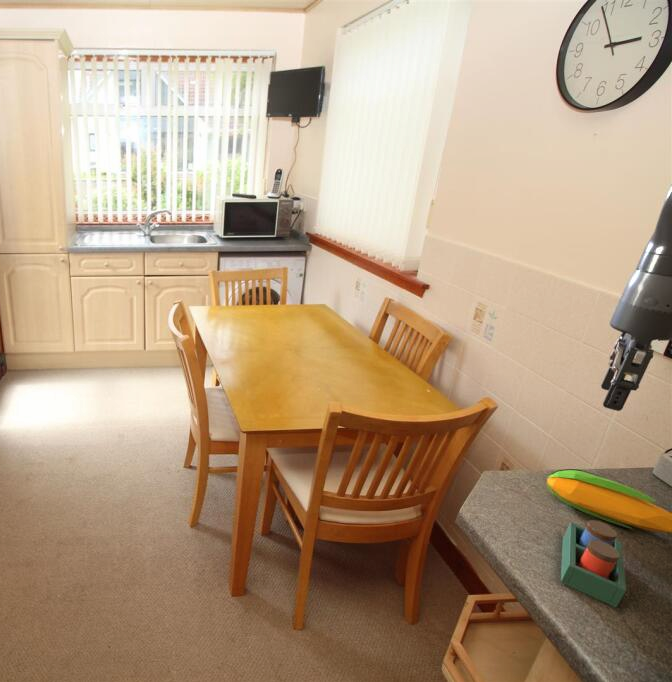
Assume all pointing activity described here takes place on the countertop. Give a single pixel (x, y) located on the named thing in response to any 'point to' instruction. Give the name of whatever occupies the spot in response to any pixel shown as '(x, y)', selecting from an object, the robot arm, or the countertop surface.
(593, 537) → the blue and brown cylinder
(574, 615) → the countertop surface
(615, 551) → the red pot
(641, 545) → the countertop surface
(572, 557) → the caddy
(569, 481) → the corn
